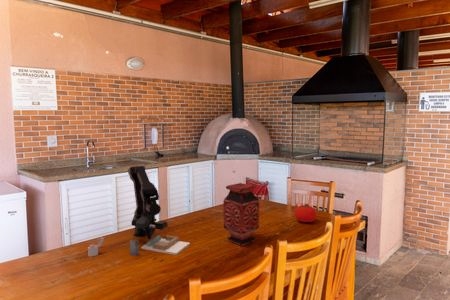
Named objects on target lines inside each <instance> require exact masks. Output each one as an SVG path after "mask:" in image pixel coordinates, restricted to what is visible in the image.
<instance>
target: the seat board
mask: <svg viewBox="0 0 450 300" xmlns="http://www.w3.org/2000/svg"><path fill="white" fill-rule="evenodd" d="M190 245H191V243H190V242H188V241H181V240H179V237H178V236H172V235H166V236H165V238H163V237H161V239H160V240H159V241H157V242H155V243H154V244H152V245H151V246H148V242H147V243H146V244H144V245H143V246H141V249H142V250H146V251H151V252H158V253H163V254H169V255H174V256H177V255H178V254H180V253H181V252H183V251H184V250H185V249H186V248H188V247H189V246H190Z"/></svg>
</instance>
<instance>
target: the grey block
mask: <svg viewBox="0 0 450 300" xmlns="http://www.w3.org/2000/svg"><path fill="white" fill-rule="evenodd" d="M138 255H140V239H135V238H133V239H131V240H130V241H129V256H133V257H137V256H138Z"/></svg>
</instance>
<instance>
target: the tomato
mask: <svg viewBox="0 0 450 300" xmlns="http://www.w3.org/2000/svg"><path fill="white" fill-rule="evenodd" d="M293 214H294V217H295V219H296V220H297V221H299V222H302V223H307V222H310V223H312V222H314V221H315V219H316V216H317V215H316V214H317V213H316V210H315V209H314V207H312V206H310V205H307V204H303V205H299V206H297V207H296V208H295V209H294V213H293Z"/></svg>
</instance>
